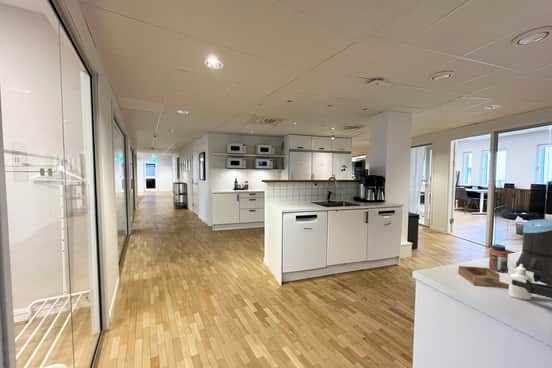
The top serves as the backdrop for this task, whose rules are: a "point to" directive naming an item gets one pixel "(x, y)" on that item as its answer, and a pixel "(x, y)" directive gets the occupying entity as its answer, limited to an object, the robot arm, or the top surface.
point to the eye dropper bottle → (517, 291)
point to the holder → (481, 276)
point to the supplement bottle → (498, 258)
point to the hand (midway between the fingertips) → (504, 273)
